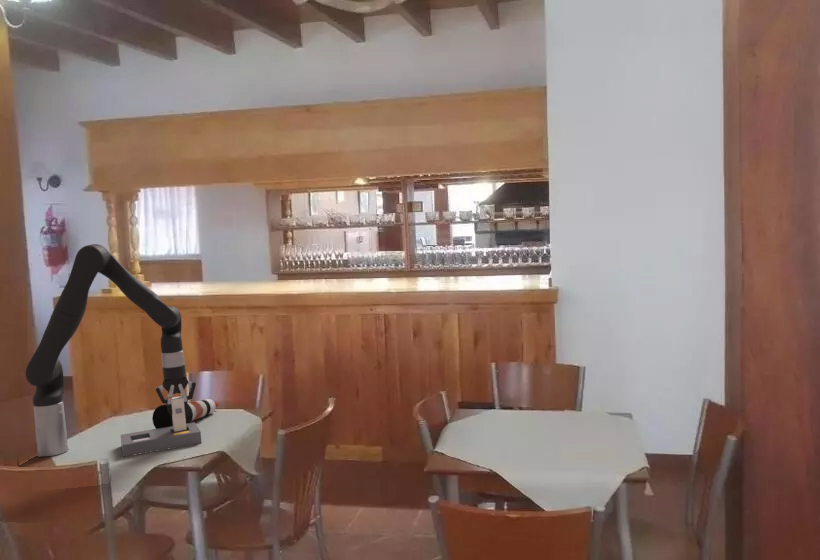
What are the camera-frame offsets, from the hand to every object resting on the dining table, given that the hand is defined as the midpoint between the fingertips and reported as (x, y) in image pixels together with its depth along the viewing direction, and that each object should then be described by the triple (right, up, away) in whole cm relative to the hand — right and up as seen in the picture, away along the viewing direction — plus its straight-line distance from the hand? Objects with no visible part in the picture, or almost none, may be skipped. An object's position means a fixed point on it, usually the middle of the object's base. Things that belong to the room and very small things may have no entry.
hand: (178, 412), depth 255 cm
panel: (-5, -11, -2) cm, 12 cm away
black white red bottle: (-3, -8, +26) cm, 27 cm away
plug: (0, -6, 0) cm, 6 cm away
